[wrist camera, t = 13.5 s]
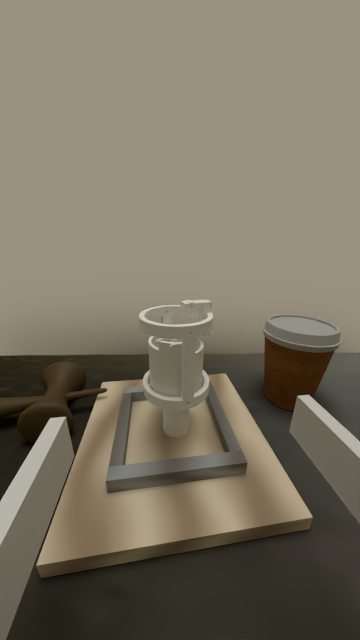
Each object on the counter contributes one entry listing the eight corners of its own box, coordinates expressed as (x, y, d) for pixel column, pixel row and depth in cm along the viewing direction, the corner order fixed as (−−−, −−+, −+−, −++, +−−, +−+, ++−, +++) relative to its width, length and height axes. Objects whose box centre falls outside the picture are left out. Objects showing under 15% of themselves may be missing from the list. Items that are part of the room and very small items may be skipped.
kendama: (-36, 410, 29) (111, 385, 34) (-102, 481, 21) (108, 434, 25) (-53, 374, 27) (106, 353, 32) (-134, 436, 19) (101, 395, 23)
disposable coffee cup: (241, 394, 32) (250, 321, 28) (270, 372, 38) (281, 309, 34) (308, 433, 25) (332, 344, 22) (331, 399, 31) (353, 324, 28)
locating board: (224, 381, 35) (226, 365, 34) (308, 529, 17) (317, 504, 16) (103, 390, 33) (101, 374, 32) (40, 578, 14) (31, 552, 13)
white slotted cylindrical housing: (217, 442, 22) (228, 308, 18) (153, 464, 20) (147, 316, 15) (191, 400, 29) (194, 293, 24) (140, 413, 26) (133, 297, 22)
